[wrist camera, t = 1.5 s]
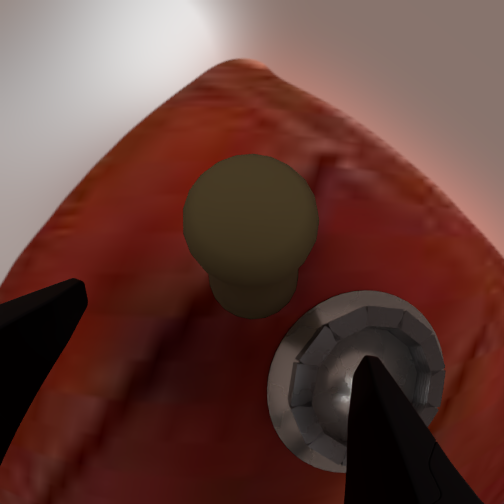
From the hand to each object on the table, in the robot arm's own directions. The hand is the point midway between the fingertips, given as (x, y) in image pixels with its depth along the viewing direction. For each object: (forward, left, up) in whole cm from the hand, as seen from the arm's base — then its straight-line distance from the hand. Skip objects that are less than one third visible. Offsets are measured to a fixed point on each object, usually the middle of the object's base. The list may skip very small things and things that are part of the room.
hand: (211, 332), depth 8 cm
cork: (+4, -3, -11) cm, 12 cm away
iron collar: (-6, -7, -11) cm, 14 cm away
